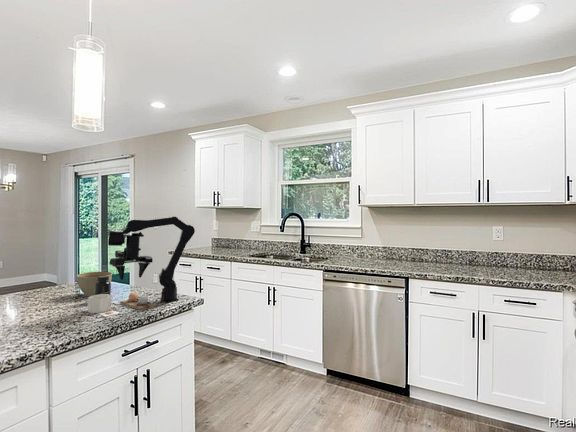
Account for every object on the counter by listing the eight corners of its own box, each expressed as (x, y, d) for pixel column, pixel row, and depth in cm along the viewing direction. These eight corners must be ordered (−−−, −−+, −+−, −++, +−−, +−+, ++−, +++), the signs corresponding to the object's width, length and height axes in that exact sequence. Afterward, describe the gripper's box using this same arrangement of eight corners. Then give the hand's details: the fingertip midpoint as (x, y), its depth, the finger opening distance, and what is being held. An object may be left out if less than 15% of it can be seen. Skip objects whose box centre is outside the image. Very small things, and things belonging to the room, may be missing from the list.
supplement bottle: (103, 303, 157) (103, 278, 157) (91, 302, 158) (91, 277, 158) (113, 299, 163) (114, 275, 163) (102, 298, 165) (102, 274, 165)
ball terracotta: (135, 299, 160) (135, 291, 160) (139, 301, 157) (139, 292, 157) (126, 301, 157) (127, 293, 157) (131, 302, 154) (131, 294, 154)
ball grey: (145, 302, 154) (145, 294, 154) (149, 304, 152) (149, 295, 152) (136, 304, 151) (136, 295, 151) (141, 306, 149) (141, 297, 149)
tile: (113, 311, 144) (113, 309, 144) (119, 313, 141) (119, 312, 141) (98, 314, 139) (98, 313, 139) (105, 317, 136) (105, 315, 136)
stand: (136, 300, 163) (136, 296, 163) (156, 306, 152) (156, 303, 152) (120, 303, 157) (120, 300, 157) (140, 310, 146) (140, 306, 146)
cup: (105, 306, 151) (105, 293, 151) (113, 309, 146) (114, 296, 146) (85, 310, 144) (85, 296, 144) (93, 314, 139) (93, 300, 139)
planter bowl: (68, 297, 167) (68, 276, 166) (93, 290, 182) (94, 270, 182) (95, 299, 163) (95, 277, 163) (118, 292, 179) (119, 272, 179)
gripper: (140, 243, 169) (139, 274, 169) (104, 245, 153) (102, 278, 153) (154, 245, 163) (152, 277, 163) (117, 247, 147) (115, 282, 147)
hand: (131, 278), depth 157 cm, fingers open, 9 cm apart
